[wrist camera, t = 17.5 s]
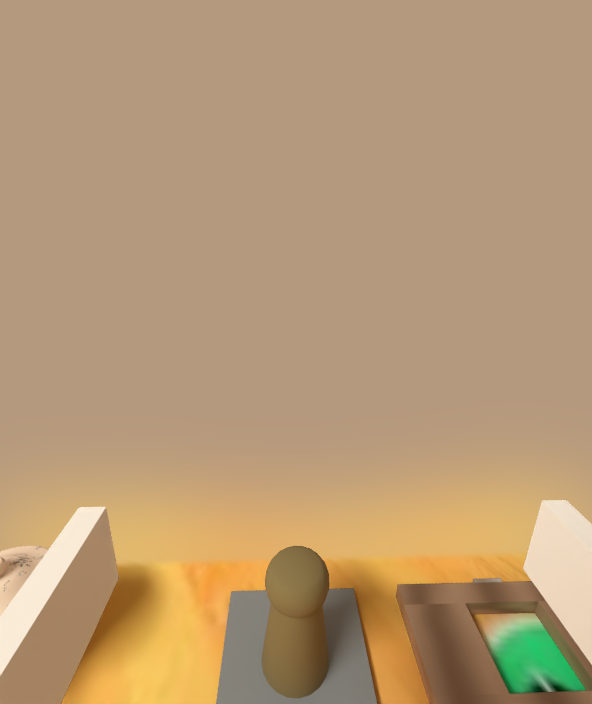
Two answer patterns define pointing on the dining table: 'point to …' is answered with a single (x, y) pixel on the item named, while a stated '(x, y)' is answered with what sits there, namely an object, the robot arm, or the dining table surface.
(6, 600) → the teacup with lid
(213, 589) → the dining table surface
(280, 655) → the brown tall rounded piece
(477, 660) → the walnut holder
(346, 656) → the gray mat
